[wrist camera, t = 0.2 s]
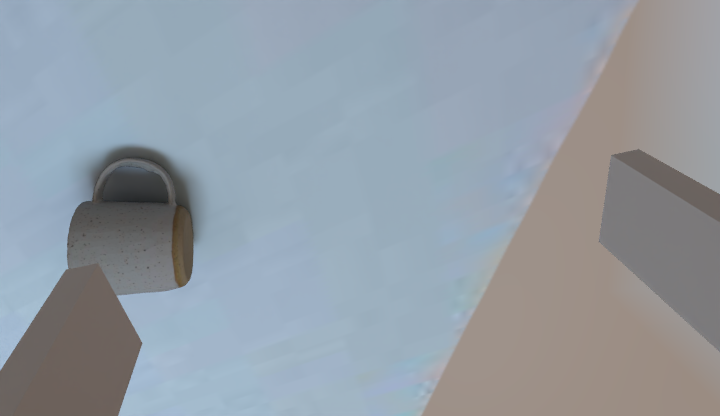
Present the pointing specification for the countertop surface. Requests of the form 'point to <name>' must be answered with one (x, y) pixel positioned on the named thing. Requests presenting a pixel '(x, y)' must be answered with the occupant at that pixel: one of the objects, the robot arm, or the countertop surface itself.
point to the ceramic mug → (133, 237)
